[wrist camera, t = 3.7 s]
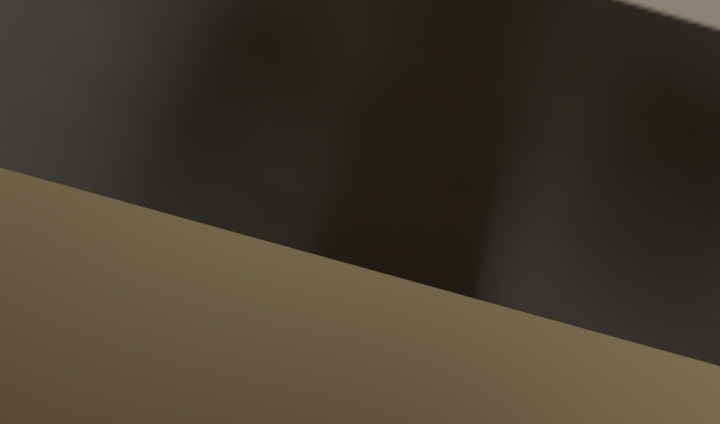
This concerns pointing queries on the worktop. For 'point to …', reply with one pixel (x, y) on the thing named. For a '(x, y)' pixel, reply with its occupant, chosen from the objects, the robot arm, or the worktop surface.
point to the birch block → (284, 335)
